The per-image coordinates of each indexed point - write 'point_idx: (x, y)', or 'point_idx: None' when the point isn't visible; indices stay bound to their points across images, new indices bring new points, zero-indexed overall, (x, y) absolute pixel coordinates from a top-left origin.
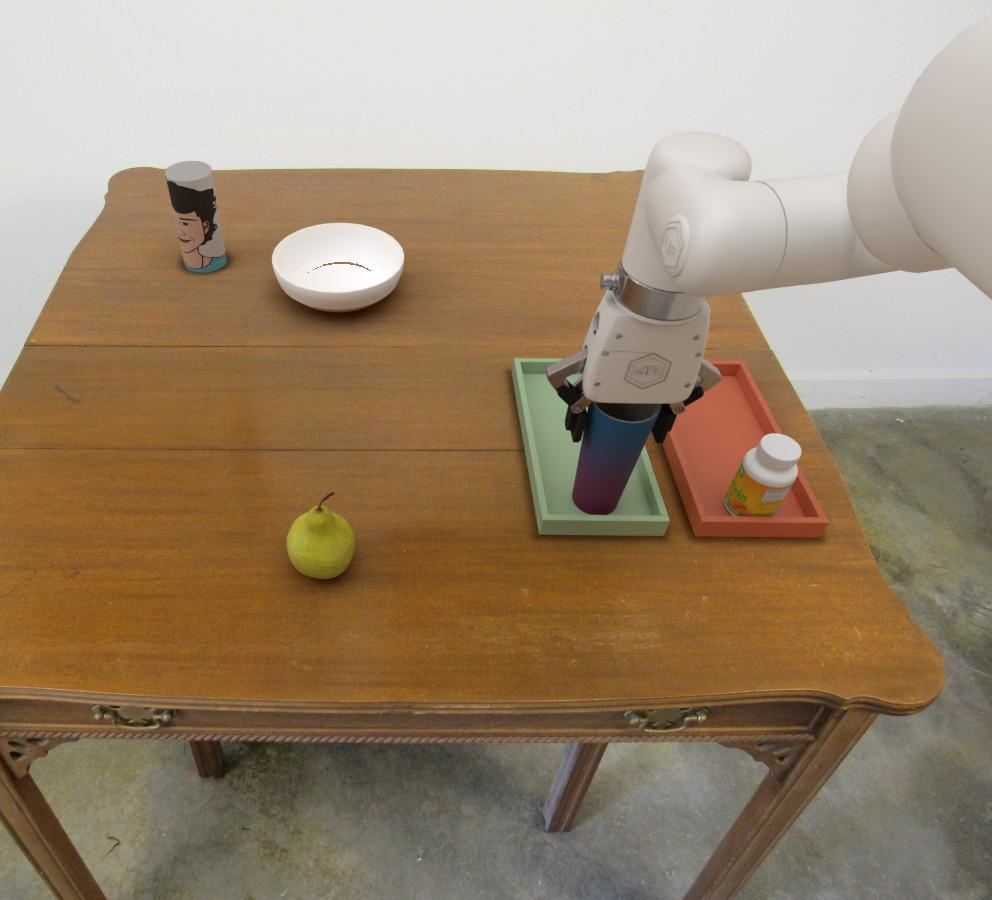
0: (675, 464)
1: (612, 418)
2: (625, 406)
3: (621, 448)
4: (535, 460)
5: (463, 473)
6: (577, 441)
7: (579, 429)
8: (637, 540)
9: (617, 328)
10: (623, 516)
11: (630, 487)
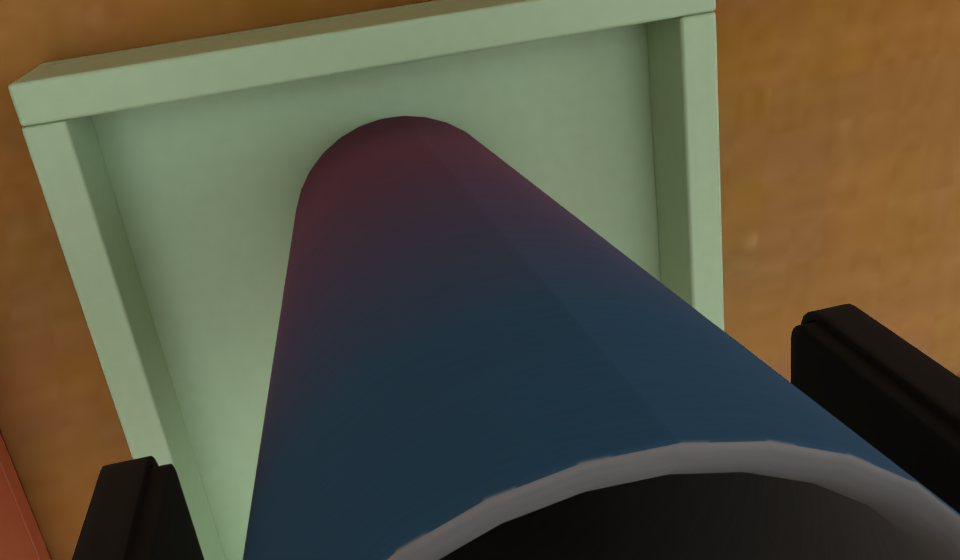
0: (4, 515)
1: (875, 465)
2: None
3: (518, 275)
4: None
5: (942, 264)
6: (830, 311)
7: (927, 372)
8: (180, 11)
9: None
10: (283, 73)
11: (228, 334)
